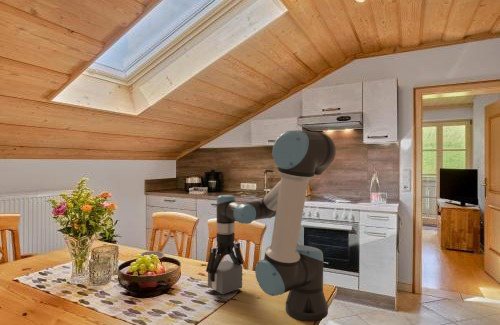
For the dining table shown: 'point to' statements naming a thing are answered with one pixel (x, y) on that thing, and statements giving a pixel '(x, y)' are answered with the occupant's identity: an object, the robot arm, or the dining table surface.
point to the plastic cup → (154, 254)
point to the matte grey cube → (227, 277)
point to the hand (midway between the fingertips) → (225, 285)
